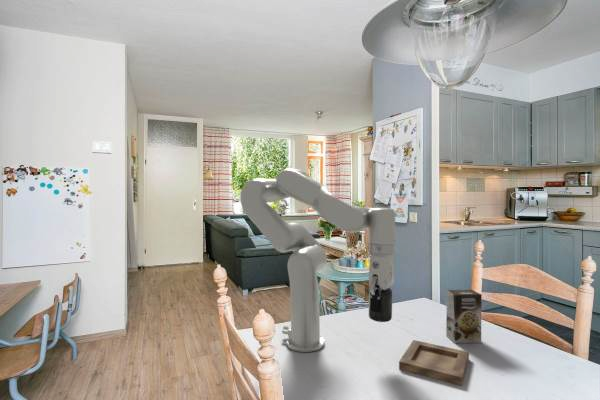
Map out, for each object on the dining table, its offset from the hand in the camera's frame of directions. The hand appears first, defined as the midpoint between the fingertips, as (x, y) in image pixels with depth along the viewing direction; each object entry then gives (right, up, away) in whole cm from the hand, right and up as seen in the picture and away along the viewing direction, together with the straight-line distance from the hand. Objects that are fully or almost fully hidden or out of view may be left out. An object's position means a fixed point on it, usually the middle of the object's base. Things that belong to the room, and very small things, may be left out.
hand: (380, 307), depth 102 cm
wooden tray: (+15, -15, -4) cm, 22 cm away
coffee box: (+31, -15, +12) cm, 36 cm away
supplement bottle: (0, -3, 0) cm, 3 cm away
